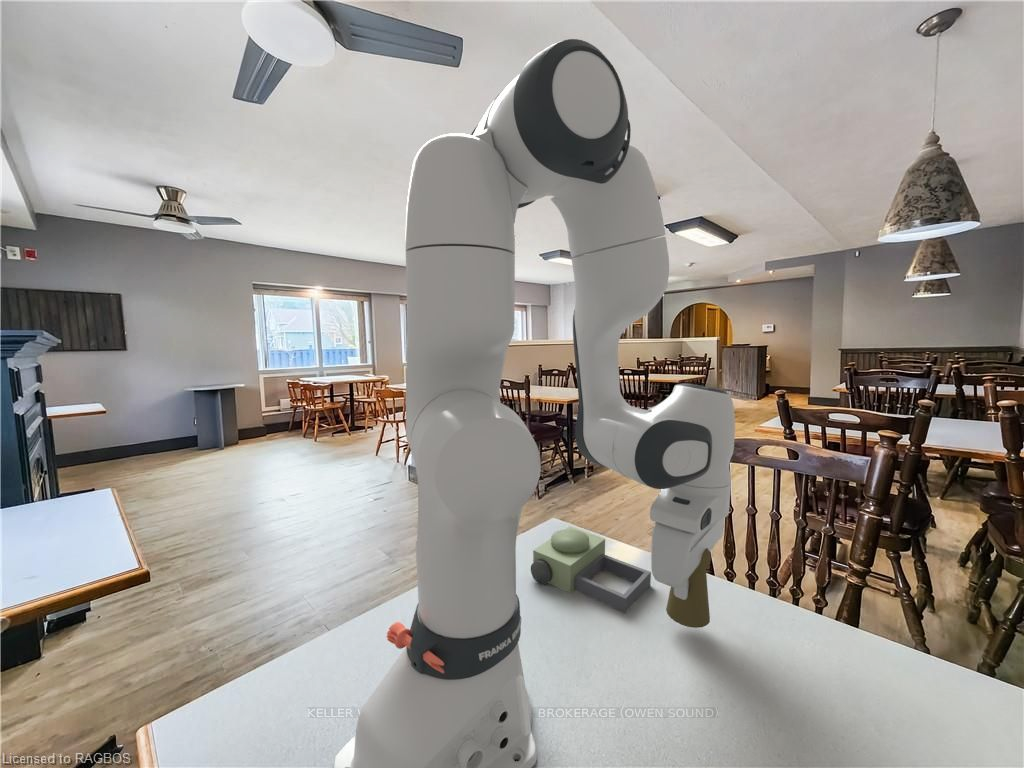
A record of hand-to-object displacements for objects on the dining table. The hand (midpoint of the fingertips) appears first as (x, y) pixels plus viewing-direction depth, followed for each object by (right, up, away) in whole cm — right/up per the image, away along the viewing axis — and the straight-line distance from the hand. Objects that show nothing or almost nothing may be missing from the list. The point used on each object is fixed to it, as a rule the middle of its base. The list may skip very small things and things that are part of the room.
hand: (689, 586), depth 63 cm
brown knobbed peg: (0, -5, +1) cm, 5 cm away
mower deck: (-12, -5, +14) cm, 19 cm away
